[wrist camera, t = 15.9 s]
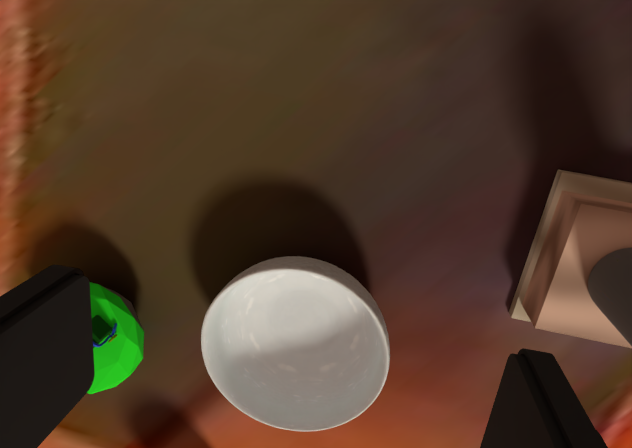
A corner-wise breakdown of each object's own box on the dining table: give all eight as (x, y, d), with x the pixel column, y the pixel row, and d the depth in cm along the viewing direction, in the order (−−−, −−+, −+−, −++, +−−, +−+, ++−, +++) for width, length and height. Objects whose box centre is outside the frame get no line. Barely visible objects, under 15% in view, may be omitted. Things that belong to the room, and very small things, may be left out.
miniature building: (104, 242, 48) (26, 288, 38) (183, 323, 50) (130, 388, 40) (39, 307, 52) (-48, 364, 42) (115, 380, 54) (50, 453, 43)
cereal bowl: (379, 230, 44) (378, 260, 37) (397, 380, 49) (399, 431, 42) (208, 247, 47) (179, 277, 40) (241, 387, 52) (220, 434, 45)
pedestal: (557, 169, 40) (581, 183, 35) (706, 196, 39) (750, 214, 34) (508, 312, 44) (523, 341, 40) (639, 339, 43) (670, 372, 39)
